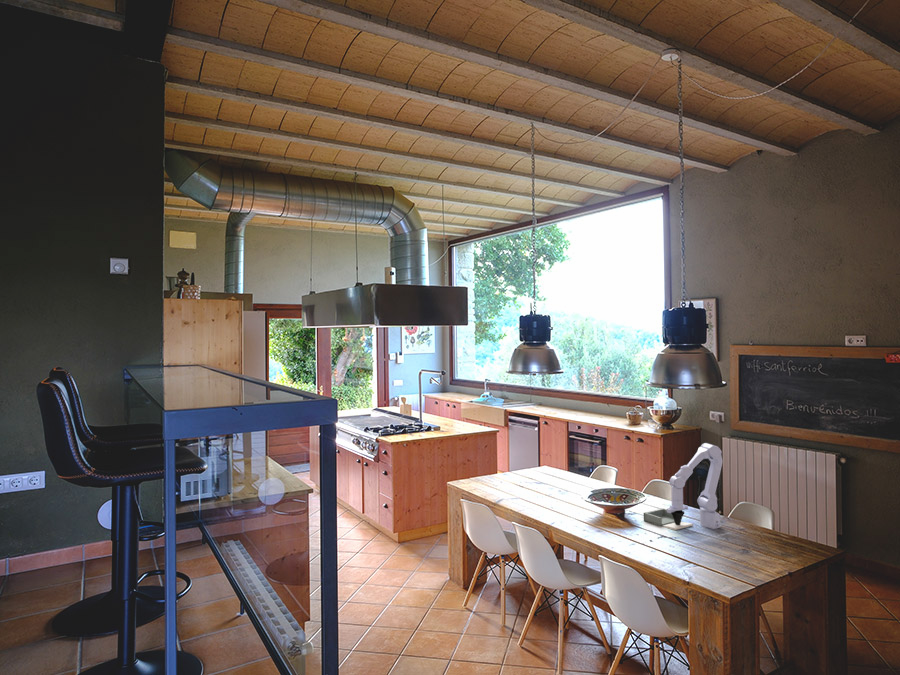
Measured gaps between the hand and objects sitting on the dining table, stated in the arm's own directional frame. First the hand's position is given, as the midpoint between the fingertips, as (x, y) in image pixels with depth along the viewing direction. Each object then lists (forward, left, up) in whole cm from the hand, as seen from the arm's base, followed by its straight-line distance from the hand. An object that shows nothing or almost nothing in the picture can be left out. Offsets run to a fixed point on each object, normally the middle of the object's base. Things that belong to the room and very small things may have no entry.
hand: (677, 524), depth 289 cm
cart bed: (+10, 0, -2) cm, 11 cm away
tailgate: (0, 0, -1) cm, 1 cm away
